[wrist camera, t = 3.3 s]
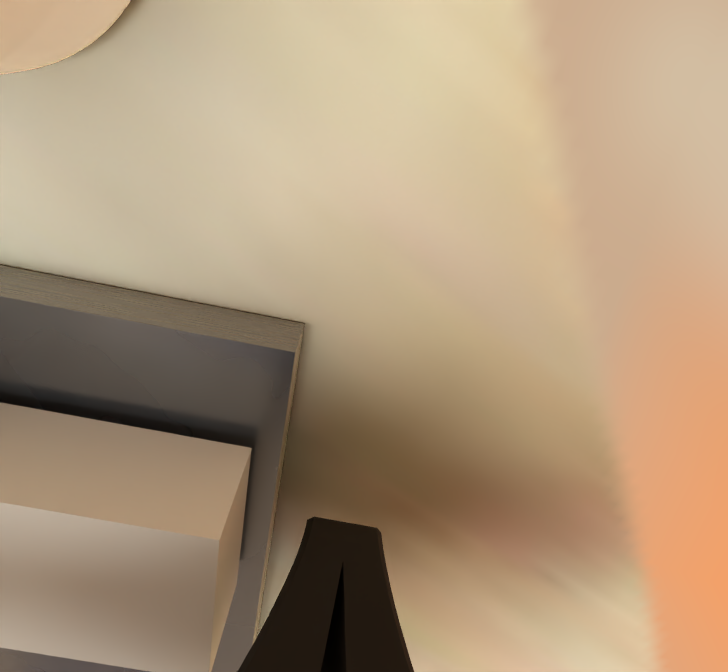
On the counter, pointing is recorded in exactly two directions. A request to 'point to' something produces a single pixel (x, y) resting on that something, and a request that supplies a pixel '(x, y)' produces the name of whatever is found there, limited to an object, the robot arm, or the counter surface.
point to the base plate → (157, 400)
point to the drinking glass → (51, 30)
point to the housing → (117, 540)
